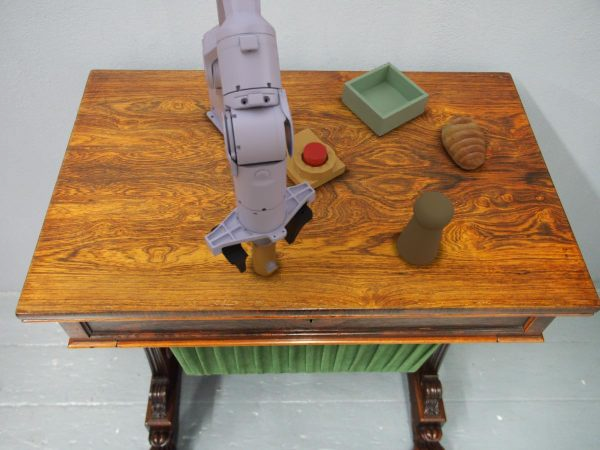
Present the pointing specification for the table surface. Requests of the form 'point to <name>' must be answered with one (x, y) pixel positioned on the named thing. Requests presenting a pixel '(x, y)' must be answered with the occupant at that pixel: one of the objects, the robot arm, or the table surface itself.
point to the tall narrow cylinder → (264, 256)
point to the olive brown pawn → (425, 228)
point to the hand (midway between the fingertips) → (263, 252)
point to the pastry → (464, 142)
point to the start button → (314, 154)
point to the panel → (311, 175)
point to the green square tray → (384, 98)
